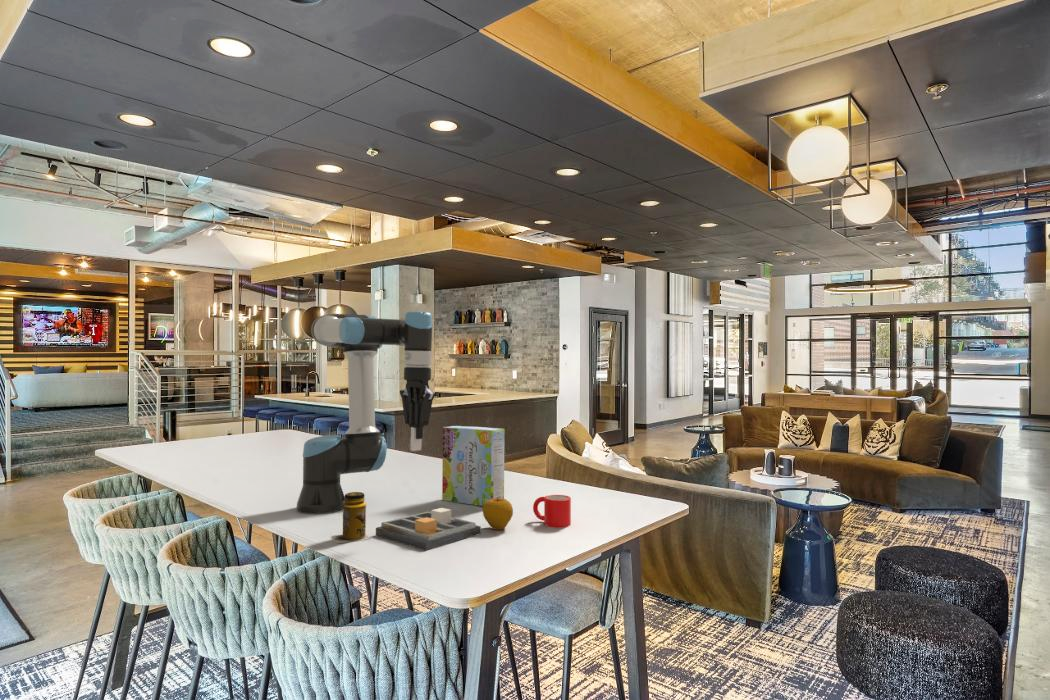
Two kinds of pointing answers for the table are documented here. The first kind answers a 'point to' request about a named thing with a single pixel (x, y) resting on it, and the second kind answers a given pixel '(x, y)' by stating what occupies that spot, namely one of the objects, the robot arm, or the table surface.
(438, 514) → the block
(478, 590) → the table surface
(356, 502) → the condiment
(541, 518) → the mug
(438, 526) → the grey slotted tray
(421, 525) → the fader orange
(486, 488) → the snack box
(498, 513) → the apple
